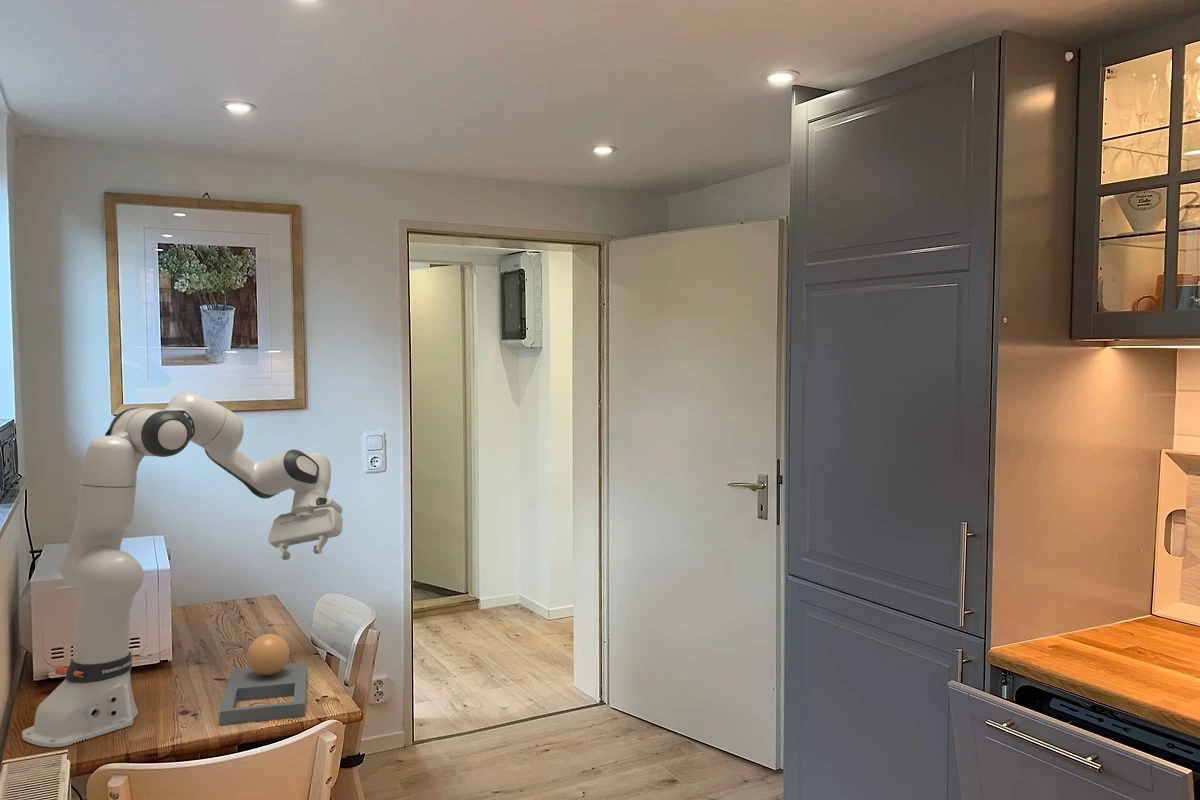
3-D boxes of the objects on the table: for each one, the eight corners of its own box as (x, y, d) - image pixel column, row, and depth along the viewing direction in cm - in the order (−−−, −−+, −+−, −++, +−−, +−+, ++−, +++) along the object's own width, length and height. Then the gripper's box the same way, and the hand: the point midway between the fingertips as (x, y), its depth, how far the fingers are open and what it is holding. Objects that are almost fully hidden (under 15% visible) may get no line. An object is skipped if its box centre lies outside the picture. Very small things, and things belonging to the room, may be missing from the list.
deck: (232, 680, 222) (232, 668, 222) (306, 673, 227) (306, 662, 227) (219, 725, 194) (219, 711, 194) (304, 716, 200) (304, 703, 200)
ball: (267, 684, 211) (267, 643, 211) (237, 677, 216) (237, 637, 215) (298, 671, 220) (298, 632, 220) (268, 665, 225) (268, 626, 224)
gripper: (268, 510, 236) (259, 557, 228) (336, 496, 232) (329, 544, 224) (281, 521, 241) (273, 567, 233) (348, 507, 237) (341, 554, 229)
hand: (301, 555), depth 228 cm, fingers open, 8 cm apart
